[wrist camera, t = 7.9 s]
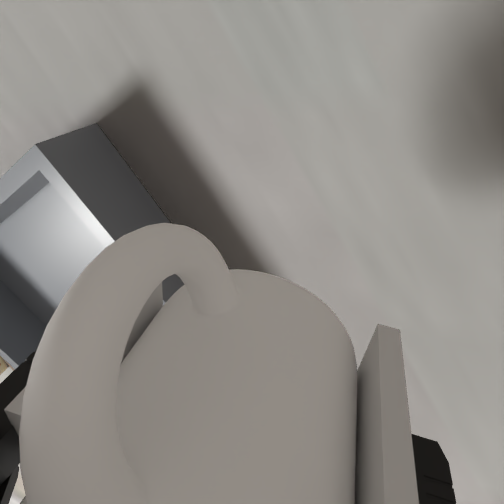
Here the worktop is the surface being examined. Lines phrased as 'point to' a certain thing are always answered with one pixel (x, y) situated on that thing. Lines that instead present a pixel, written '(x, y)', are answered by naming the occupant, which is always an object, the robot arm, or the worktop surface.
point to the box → (62, 228)
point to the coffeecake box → (2, 365)
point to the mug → (189, 386)
